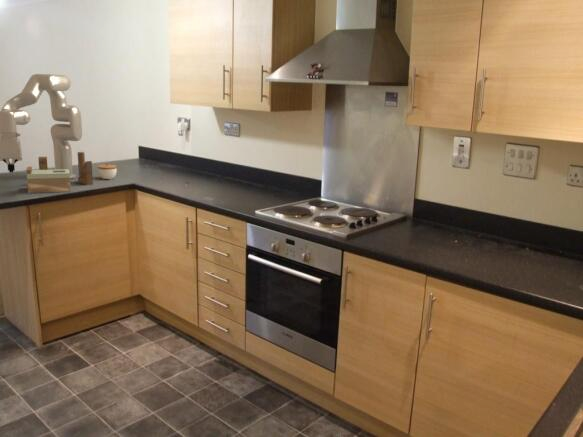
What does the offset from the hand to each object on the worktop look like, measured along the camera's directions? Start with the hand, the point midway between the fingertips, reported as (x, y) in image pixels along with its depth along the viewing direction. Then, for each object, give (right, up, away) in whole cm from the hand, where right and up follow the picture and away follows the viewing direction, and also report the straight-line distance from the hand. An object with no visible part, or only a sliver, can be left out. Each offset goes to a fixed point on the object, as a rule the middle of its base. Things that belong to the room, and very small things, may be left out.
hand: (11, 171), depth 270 cm
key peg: (+7, -6, +21) cm, 23 cm away
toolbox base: (+15, -9, +10) cm, 20 cm away
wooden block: (+27, -5, +29) cm, 40 cm away
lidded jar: (+32, 0, +48) cm, 58 cm away
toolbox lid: (+16, -2, +8) cm, 17 cm away
